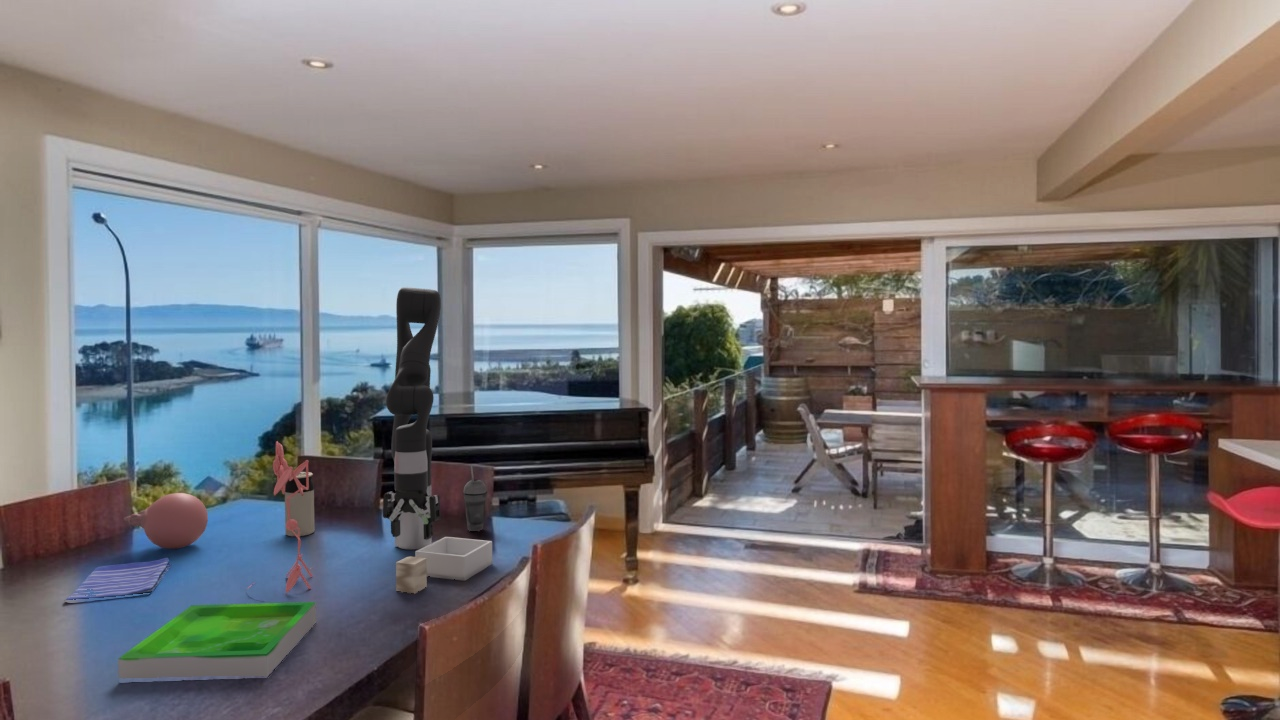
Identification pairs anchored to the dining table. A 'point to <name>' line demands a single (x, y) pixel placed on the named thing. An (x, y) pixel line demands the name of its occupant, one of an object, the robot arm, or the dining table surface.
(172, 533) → the pink water balloon
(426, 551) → the grey bin
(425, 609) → the dining table surface
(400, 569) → the ash block
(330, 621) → the dining table surface
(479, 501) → the beverage cup
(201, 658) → the tray
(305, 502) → the travel mug
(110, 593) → the dish towel
